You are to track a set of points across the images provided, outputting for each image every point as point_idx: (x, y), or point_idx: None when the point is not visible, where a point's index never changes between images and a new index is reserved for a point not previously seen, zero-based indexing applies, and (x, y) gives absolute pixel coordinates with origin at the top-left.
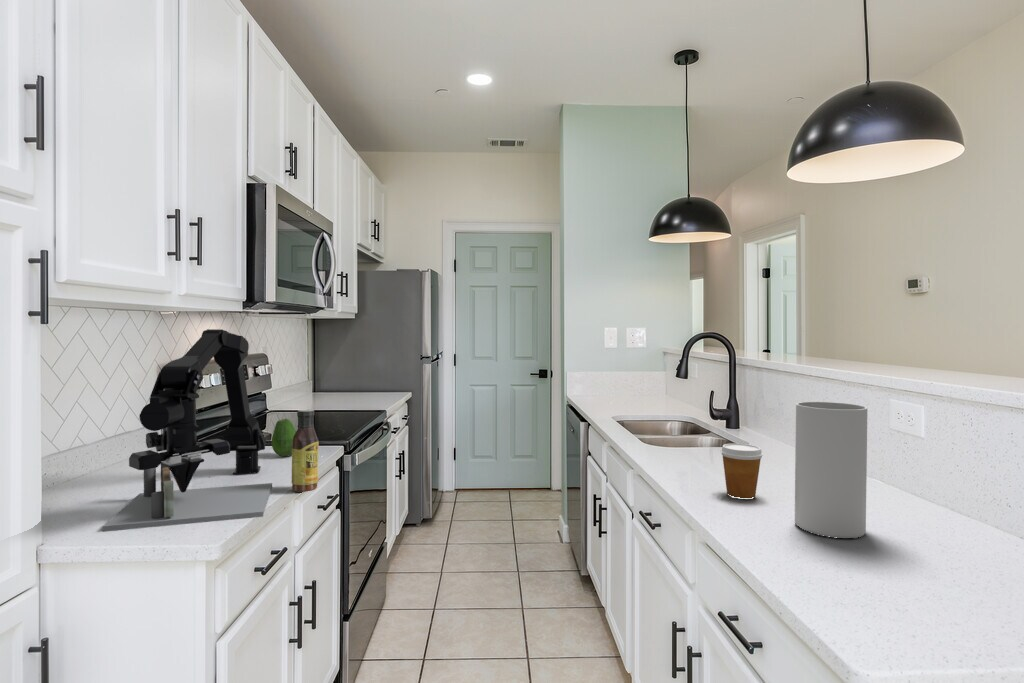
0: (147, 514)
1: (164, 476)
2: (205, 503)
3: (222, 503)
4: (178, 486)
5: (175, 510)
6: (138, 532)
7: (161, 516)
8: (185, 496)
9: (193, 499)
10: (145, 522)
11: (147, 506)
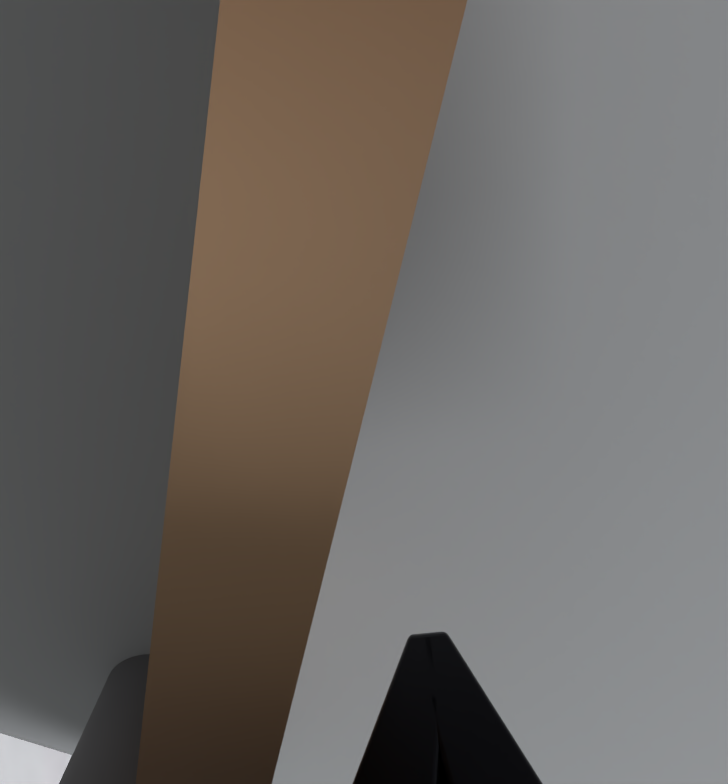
0: (81, 578)
1: (157, 732)
2: (596, 595)
3: (689, 685)
4: (386, 702)
5: (313, 624)
6: (32, 767)
7: None
8: (596, 138)
9: (592, 370)
10: (59, 749)
11: (95, 294)
